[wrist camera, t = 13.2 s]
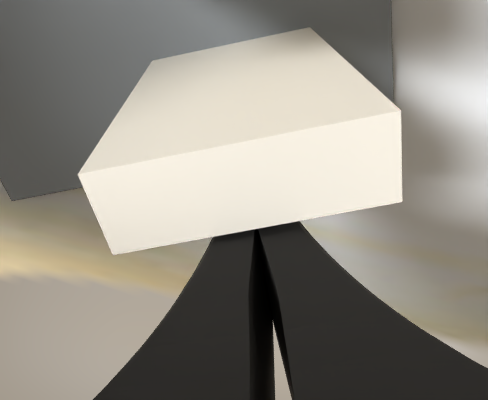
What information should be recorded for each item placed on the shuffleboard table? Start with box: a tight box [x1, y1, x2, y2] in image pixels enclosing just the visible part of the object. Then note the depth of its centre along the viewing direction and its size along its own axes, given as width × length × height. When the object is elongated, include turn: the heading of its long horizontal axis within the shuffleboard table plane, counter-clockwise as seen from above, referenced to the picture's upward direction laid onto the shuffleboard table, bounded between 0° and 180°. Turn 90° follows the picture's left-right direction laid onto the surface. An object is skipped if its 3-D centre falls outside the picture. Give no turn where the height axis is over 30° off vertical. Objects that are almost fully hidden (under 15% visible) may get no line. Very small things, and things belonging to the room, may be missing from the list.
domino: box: [78, 27, 402, 255], centre depth 10 cm, size 2×5×8 cm, turn 101°
